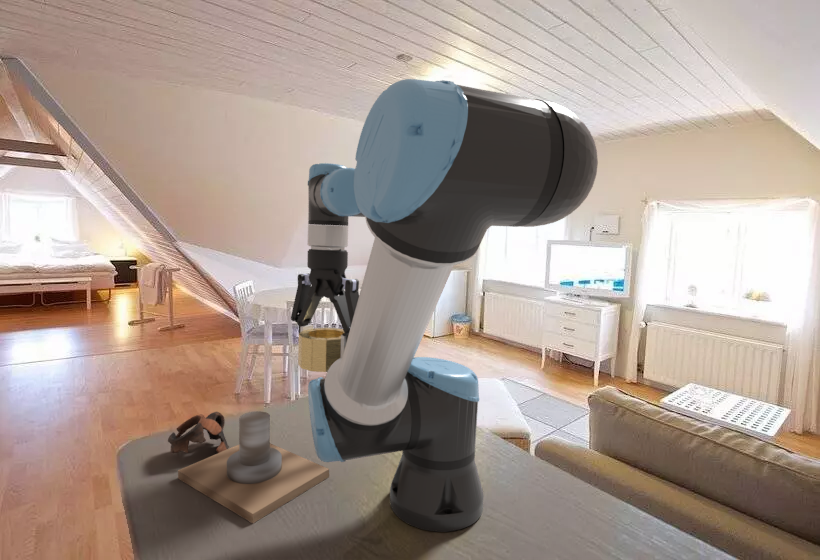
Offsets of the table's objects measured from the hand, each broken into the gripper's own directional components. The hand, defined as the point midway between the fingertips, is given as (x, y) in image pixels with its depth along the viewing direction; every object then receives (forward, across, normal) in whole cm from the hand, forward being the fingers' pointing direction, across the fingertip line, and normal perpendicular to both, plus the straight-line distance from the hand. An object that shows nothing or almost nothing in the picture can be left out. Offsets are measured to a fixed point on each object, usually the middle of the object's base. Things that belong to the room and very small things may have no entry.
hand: (325, 362), depth 88 cm
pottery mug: (+18, +18, +15) cm, 29 cm away
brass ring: (0, 0, 0) cm, 0 cm away
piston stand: (+18, +2, +15) cm, 23 cm away
